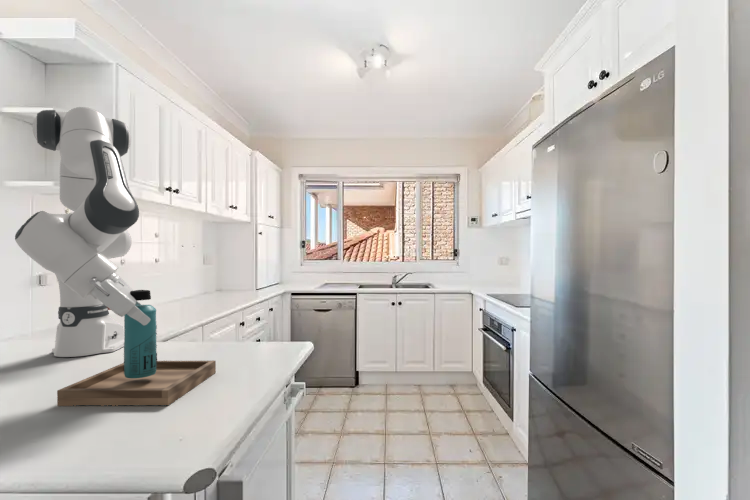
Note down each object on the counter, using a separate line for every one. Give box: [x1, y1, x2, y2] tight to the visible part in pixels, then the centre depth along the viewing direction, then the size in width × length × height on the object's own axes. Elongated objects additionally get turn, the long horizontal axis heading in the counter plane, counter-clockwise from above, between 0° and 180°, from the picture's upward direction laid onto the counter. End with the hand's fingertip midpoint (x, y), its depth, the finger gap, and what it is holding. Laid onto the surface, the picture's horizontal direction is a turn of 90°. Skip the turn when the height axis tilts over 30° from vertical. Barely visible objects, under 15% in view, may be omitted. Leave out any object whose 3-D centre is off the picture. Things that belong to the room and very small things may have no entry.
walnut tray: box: [56, 360, 217, 407], centre depth 92 cm, size 22×22×3 cm
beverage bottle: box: [122, 289, 158, 378], centre depth 91 cm, size 6×7×20 cm
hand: (148, 319), depth 92 cm, fingers open, 8 cm apart
